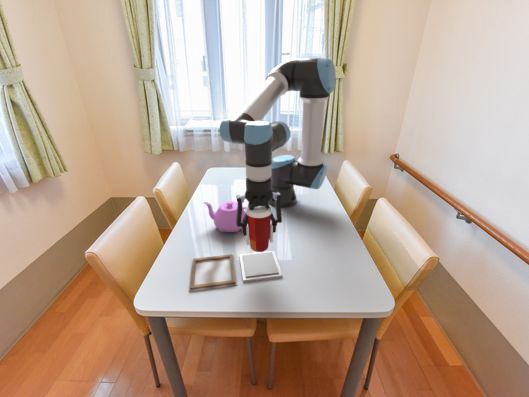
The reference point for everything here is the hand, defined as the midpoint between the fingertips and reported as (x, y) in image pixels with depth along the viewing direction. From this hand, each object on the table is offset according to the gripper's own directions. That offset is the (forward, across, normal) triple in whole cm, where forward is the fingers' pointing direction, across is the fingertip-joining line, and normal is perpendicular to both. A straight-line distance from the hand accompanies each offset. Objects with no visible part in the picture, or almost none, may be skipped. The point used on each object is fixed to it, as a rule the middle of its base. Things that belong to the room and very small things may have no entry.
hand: (259, 241), depth 87 cm
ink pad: (+11, 0, 0) cm, 11 cm away
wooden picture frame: (+11, +16, 0) cm, 19 cm away
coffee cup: (+2, 0, 0) cm, 2 cm away
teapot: (+11, +9, -27) cm, 31 cm away
